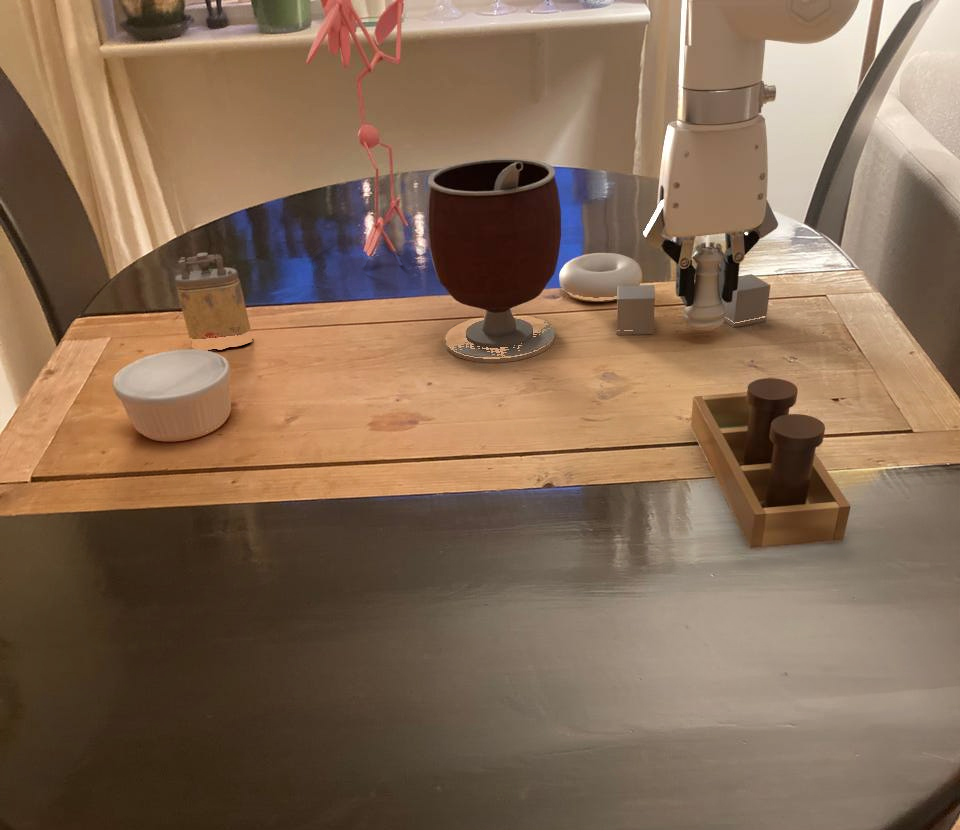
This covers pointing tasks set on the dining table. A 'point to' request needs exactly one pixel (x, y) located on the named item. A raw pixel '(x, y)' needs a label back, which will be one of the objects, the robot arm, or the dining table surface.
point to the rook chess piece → (706, 289)
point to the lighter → (211, 298)
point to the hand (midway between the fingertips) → (705, 298)
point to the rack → (763, 481)
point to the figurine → (338, 27)
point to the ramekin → (176, 394)
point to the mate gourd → (495, 247)
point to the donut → (599, 275)
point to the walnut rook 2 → (792, 458)
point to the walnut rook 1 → (765, 416)
